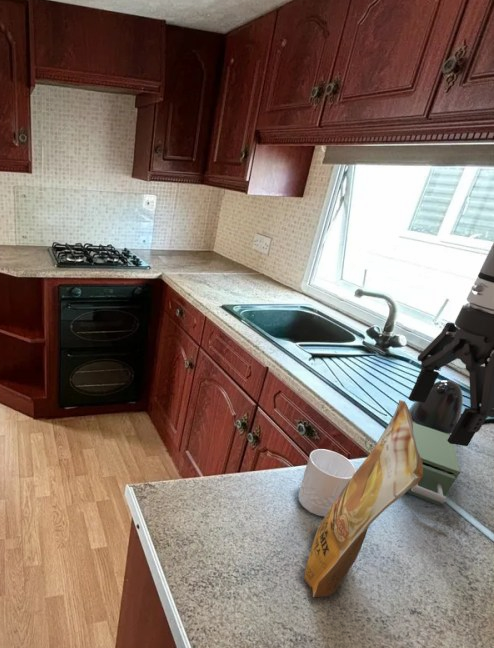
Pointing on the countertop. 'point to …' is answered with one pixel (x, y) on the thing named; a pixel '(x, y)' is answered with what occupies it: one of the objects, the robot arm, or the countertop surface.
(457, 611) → the countertop surface
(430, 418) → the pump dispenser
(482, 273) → the robot arm
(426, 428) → the cabinet
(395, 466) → the pancake mix bag
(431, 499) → the drawer
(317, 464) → the white cup
